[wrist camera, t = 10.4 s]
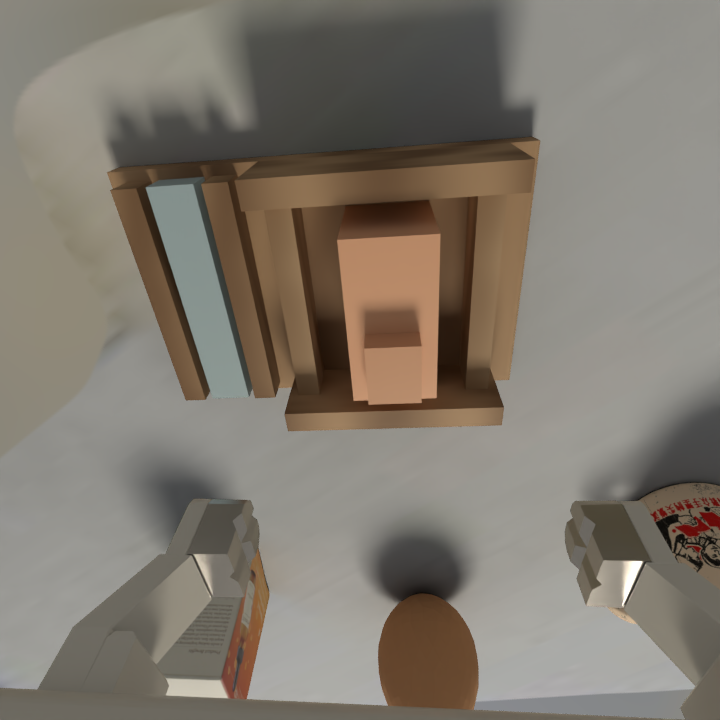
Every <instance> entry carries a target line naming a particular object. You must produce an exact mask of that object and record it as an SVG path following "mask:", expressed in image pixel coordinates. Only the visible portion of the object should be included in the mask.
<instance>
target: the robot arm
mask: <svg viewBox="0 0 720 720" xmlns="http://www.w3.org/2000/svg"><path fill="white" fill-rule="evenodd" d="M253 510H254V508H253V505H252V502H251V500H226V499H193V500H192V501H191V502H190V503H189V504H188V506H187V509H186V511H185V513H184V515H183V517H182V519H181V521H180V524H179V526H178V528H177V530H176V532H175V534H174V536H173V539H172V541H171V543H170V545H169V547H168V549H167V551H166V554H160V555H158V556H157V557H156V558H155V559H154V560H152V561H151V562H150V563H149V564H148V565H147V566H145V567H144V568H143V569H142V570H141V571H139V572H138V573H137V574H136V575H135V576H133V577H132V578H131V579H130V580H129V581H127V582H126V583H125V584H124V585H123V586H121V587H120V588H119V589H118V590H117V591H116V592H114V593H113V594H112V595H111V596H110V597H108V598H107V599H106V600H105V601H104V602H102V603H101V604H100V605H99V606H98V607H96V608H95V609H94V610H93V611H92V612H90V613H89V614H88V615H87V616H86V617H84V618H83V619H82V620H81V621H80V622H79V623H77V624H76V625H75V626H74V627H73V628H72V630H71V632H70V633H69V635H68V637H67V639H66V640H65V642H64V644H63V646H62V647H61V649H60V651H59V653H58V654H57V656H56V658H55V660H54V661H53V663H52V665H51V667H50V668H49V670H48V672H47V674H46V675H45V677H44V679H43V681H42V682H41V684H40V686H39V688H38V689H37V690H36V689H14V688H0V720H681V719H661V718H639V717H617V716H596V715H575V714H554V713H552V714H551V713H532V712H531V713H530V712H511V711H510V712H509V711H488V710H468V709H446V708H425V707H404V706H382V705H361V704H339V703H318V702H296V701H274V700H253V699H231V698H209V697H187V696H166V693H167V690H168V688H169V684H168V682H167V680H166V678H165V677H164V675H163V674H162V672H161V671H160V669H159V668H158V666H157V665H156V664H157V663H158V662H159V661H160V660H161V658H162V657H163V656H164V655H165V654H166V653H167V651H168V650H169V649H170V648H171V647H172V646H173V644H174V643H175V642H176V641H177V640H178V639H179V637H180V636H181V635H182V634H183V633H184V631H185V630H186V629H187V628H188V627H189V626H190V624H191V623H192V622H193V621H194V620H195V619H196V617H197V616H198V615H199V614H200V613H201V612H202V610H203V609H204V608H205V607H206V606H207V605H208V603H209V602H210V601H211V600H212V599H211V598H215V597H244V596H245V592H246V589H247V585H248V582H249V578H250V575H251V570H250V567H249V564H248V563H249V562H250V561H251V560H252V559H253V558H254V557H255V556H256V553H257V549H258V545H259V535H260V533H259V524H258V521H257V519H256V518H254V517H253V516H252V513H253ZM570 512H571V514H572V517H573V518H572V519H571V520H570V521H568V522H567V524H566V528H565V544H566V549H567V553H568V556H569V559H570V561H571V562H572V563H573V564H574V565H575V566H576V567H577V568H578V569H579V573H578V576H577V582H578V584H579V587H580V590H581V593H582V596H583V598H584V601H585V604H586V606H596V607H615V608H625V609H624V610H625V612H626V613H627V614H628V615H629V616H630V617H631V618H632V619H633V620H634V621H635V622H636V623H637V624H638V625H639V626H640V628H641V629H642V630H643V631H644V632H645V633H646V634H647V635H648V636H649V637H650V638H651V639H652V640H653V641H654V642H655V644H656V645H657V646H658V647H659V648H660V649H661V650H662V651H663V652H664V653H665V654H666V655H667V656H668V657H669V658H670V660H671V661H672V662H673V663H674V664H675V665H676V666H677V667H678V668H679V669H680V670H681V671H682V672H683V673H684V674H685V676H686V677H687V678H688V679H689V680H690V681H691V682H692V683H693V684H694V685H695V688H694V689H693V690H692V692H691V693H690V695H689V696H688V697H687V698H686V700H685V701H684V703H683V704H682V706H681V711H682V713H683V715H684V718H685V720H720V589H718V588H717V587H716V586H714V585H713V584H712V583H710V582H709V581H708V580H706V579H705V578H704V577H703V576H701V575H700V574H699V573H697V572H696V571H695V570H693V569H692V568H691V567H689V566H688V565H687V564H685V563H678V562H677V560H676V558H675V557H674V555H673V553H672V551H671V550H670V548H669V546H668V544H667V543H666V541H665V539H664V537H663V536H662V534H661V532H660V530H659V529H658V527H657V525H656V523H655V522H654V520H653V518H652V516H651V515H650V513H649V511H648V509H647V508H646V506H645V505H644V504H643V503H642V502H641V501H575V502H574V503H573V504H572V506H571V510H570Z"/></svg>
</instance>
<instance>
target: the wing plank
mask: <svg viewBox="0 0 720 720" xmlns="http://www.w3.org/2000/svg"><path fill="white" fill-rule="evenodd" d="M203 182H205V178H204V177H195V178H181V179H167V180H158V181H157V182H155V183H153V184H151V185H149V186H147V187H146V190H147V193H148V197H149V200H150V203H151V206H152V209H153V212H154V215H155V219H156V222H157V225H158V228H159V231H160V234H161V238H162V241H163V244H164V247H165V250H166V253H167V256H168V260H169V263H170V266H171V269H172V272H173V275H174V278H175V282H176V285H177V288H178V291H179V294H180V297H181V300H182V304H183V307H184V310H185V313H186V316H187V319H188V322H189V326H190V329H191V332H192V335H193V338H194V341H195V344H196V348H197V351H198V354H199V357H200V360H201V363H202V366H203V370H204V373H205V376H206V379H207V382H208V385H209V388H210V392H211V395H212V398H240V397H249V396H250V393H251V391H252V388H253V387H252V383H251V379H250V375H249V371H248V367H247V363H246V359H245V356H244V352H243V348H242V344H241V340H240V336H239V332H238V328H237V324H236V320H235V316H234V312H233V308H232V304H231V300H230V296H229V292H228V288H227V284H226V280H225V276H224V273H223V269H222V265H221V261H220V257H219V253H218V249H217V245H216V241H215V237H214V233H213V229H212V225H211V221H210V217H209V213H208V209H207V205H206V201H205V197H204V194H203V190H202V186H201V184H202V183H203Z"/></svg>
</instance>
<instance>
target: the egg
mask: <svg viewBox="0 0 720 720" xmlns="http://www.w3.org/2000/svg"><path fill="white" fill-rule="evenodd" d="M378 663H379V675H380V681H381V686H382V690H383V693H384V696H385V699H386V701H387V704H388V706H404V707H425V708H446V709H468V710H474V705H475V701H476V696H477V691H478V660H477V653H476V649H475V644H474V640H473V638H472V635H471V633H470V630H469V628H468V626H467V625H466V623H465V621H464V620H463V618H462V617H461V616H460V614H459V613H458V612H457V610H456V609H454V608H453V607H452V606H451V605H450V604H449V603H447V602H446V601H444V600H443V599H441V598H440V597H437V596H434V595H432V594H424V593H420V594H415V595H411V596H409V597H408V598H406V599H405V600H403V601H401V602H400V603H399V604H398V605H397V606H396V607H395V608H394V609H393V611H392V612H391V613H390V615H389V617H388V618H387V620H386V622H385V624H384V627H383V630H382V634H381V638H380V642H379V650H378Z"/></svg>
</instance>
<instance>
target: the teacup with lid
mask: <svg viewBox="0 0 720 720" xmlns="http://www.w3.org/2000/svg"><path fill="white" fill-rule="evenodd" d="M638 501H641V502H642V503H643V504H644V505H645V506H646V508H647V509H648V511H649V513H650V515H651V516H652V518H653V520H654V522H655V523H656V525H657V527H658V529H659V530H660V532H661V534H662V536H663V537H664V539H665V541H666V543H667V544H668V546H669V548H670V550H671V551H672V553H673V555H674V557H675V558H676V560H677V562H678V563H685V564H687V565H688V566H689V567H691V568H692V569H693V570H695V571H696V572H697V573H699V574H700V575H701V576H703V577H704V578H705V579H706V580H708V581H709V582H710V583H712V584H713V585H714V586H716V587H717V588H718V589H720V486H717V485H713V484H707V483H685V484H678V485H673V486H669V487H665V488H662V489H659V490H657V491H654V492H652V493H650V494H648V495H646V496H644V497H643V498H641V499H640V500H638ZM608 609H609V610H610V611H611V612H612V613H614V614H615V615H616V616H618V617H619V618H621V619H623V620H625V621H627V622H630V623H634V624H637V623H636V622H635V621H634V620H633V619H632V618H631V617H630V616H629V615H628V614H627V613H626V612H625V610H624V609H625V608H615V607H608Z"/></svg>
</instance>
